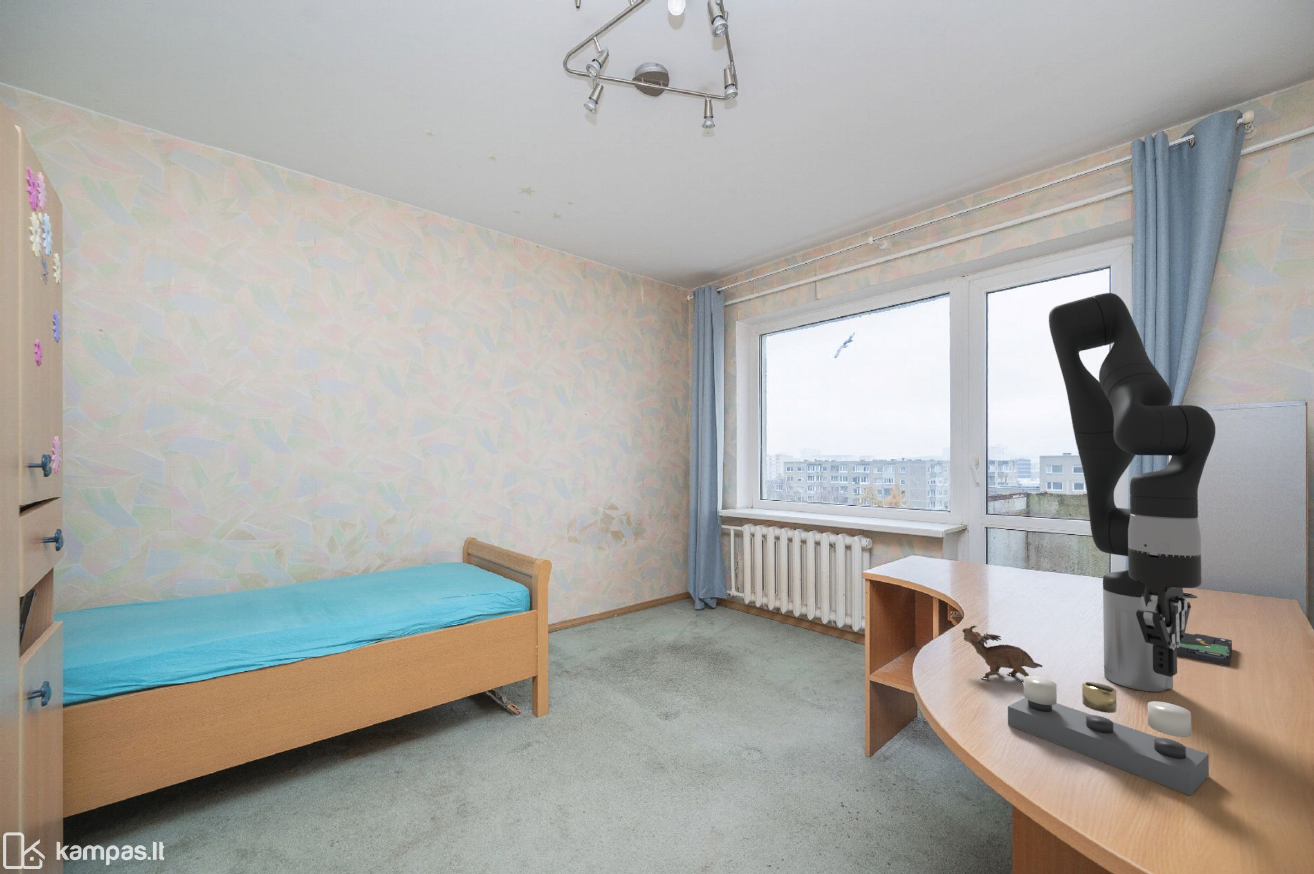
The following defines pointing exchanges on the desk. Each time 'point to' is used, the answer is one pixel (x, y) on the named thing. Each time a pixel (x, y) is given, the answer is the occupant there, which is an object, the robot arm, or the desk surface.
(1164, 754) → the control strip
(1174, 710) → the cream knob
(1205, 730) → the desk surface
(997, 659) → the dinosaur figurine
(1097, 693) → the brass dial
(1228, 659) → the disk drive
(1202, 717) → the desk surface
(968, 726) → the desk surface
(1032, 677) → the cream knob
